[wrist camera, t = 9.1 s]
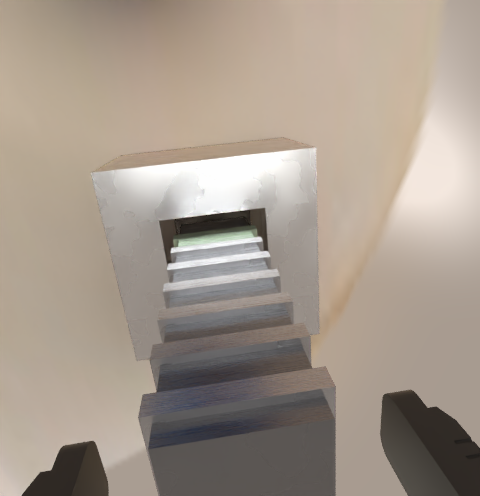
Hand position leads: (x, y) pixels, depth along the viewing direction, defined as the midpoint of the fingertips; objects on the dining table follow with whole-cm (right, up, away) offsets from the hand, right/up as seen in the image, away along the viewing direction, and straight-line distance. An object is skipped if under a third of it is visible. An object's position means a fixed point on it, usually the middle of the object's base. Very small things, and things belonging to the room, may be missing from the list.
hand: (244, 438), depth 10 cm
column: (-2, +5, +13) cm, 14 cm away
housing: (-2, +7, +19) cm, 20 cm away
